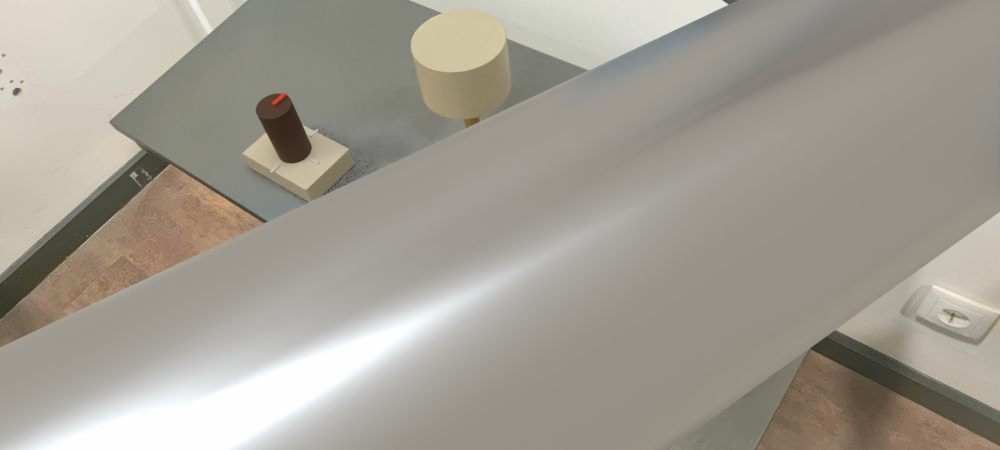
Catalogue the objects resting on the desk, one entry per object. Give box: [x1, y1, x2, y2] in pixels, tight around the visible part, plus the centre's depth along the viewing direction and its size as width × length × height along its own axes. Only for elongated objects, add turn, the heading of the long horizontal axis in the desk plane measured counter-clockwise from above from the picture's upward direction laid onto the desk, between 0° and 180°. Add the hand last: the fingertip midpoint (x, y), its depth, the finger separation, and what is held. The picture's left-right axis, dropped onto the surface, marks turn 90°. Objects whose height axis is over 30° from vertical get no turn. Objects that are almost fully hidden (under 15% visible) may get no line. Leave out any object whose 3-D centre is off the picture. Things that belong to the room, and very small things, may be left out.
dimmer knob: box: [255, 92, 312, 163], centre depth 87 cm, size 4×4×8 cm
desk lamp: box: [410, 9, 512, 129], centre depth 75 cm, size 9×9×26 cm
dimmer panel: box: [241, 124, 356, 203], centre depth 92 cm, size 9×12×3 cm
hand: (733, 239), depth 55 cm, fingers closed
